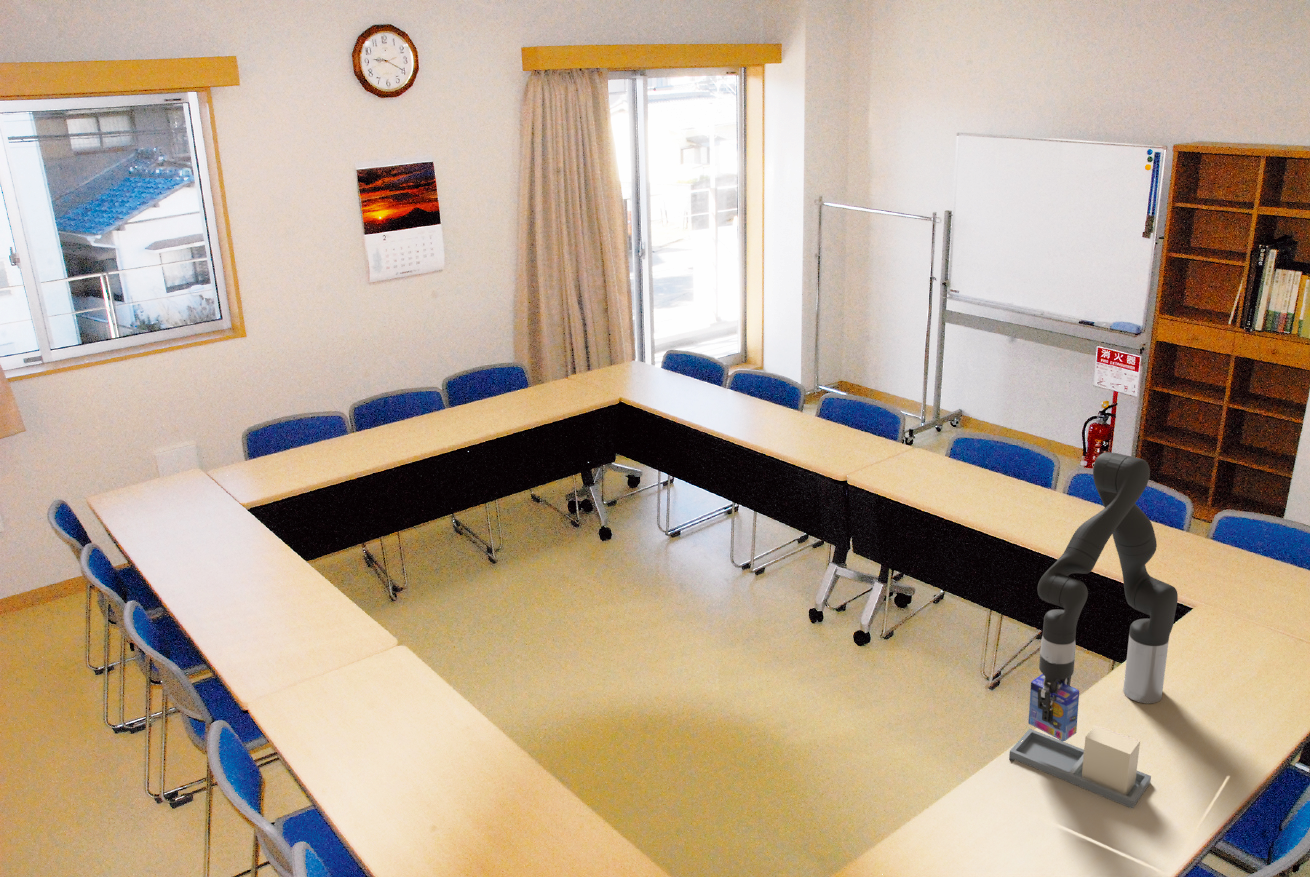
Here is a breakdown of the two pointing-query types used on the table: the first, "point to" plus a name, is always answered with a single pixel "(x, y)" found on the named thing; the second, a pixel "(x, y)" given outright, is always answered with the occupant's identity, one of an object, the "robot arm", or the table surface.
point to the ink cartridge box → (1055, 711)
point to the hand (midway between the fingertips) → (1052, 714)
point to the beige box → (1110, 759)
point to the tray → (1069, 765)
